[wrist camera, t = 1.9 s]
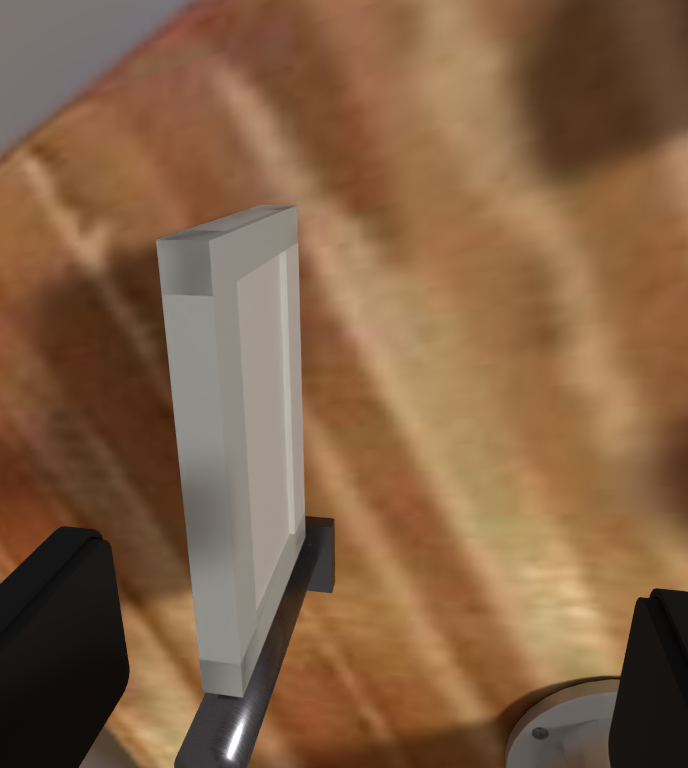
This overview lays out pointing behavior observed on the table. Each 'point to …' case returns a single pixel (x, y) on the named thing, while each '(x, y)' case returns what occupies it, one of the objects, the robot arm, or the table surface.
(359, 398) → the table surface
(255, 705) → the hinge post
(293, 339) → the panel
